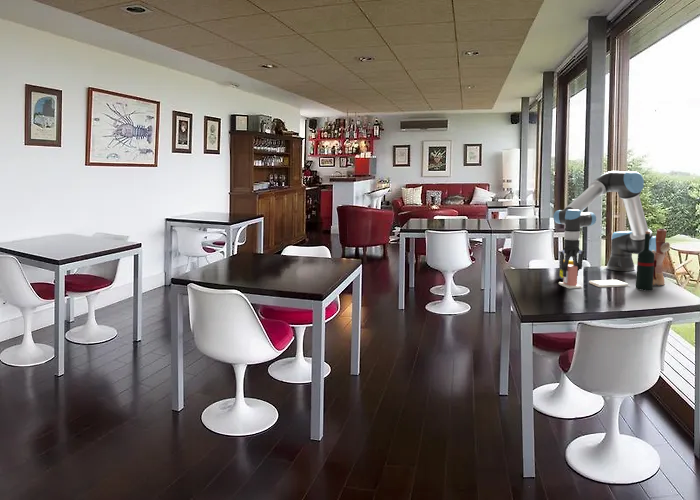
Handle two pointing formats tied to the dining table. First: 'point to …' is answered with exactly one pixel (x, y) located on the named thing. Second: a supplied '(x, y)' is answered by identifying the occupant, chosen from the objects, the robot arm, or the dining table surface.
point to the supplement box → (562, 270)
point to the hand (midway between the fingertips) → (570, 282)
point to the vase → (660, 256)
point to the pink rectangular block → (571, 277)
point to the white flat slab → (608, 283)
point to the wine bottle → (645, 267)
